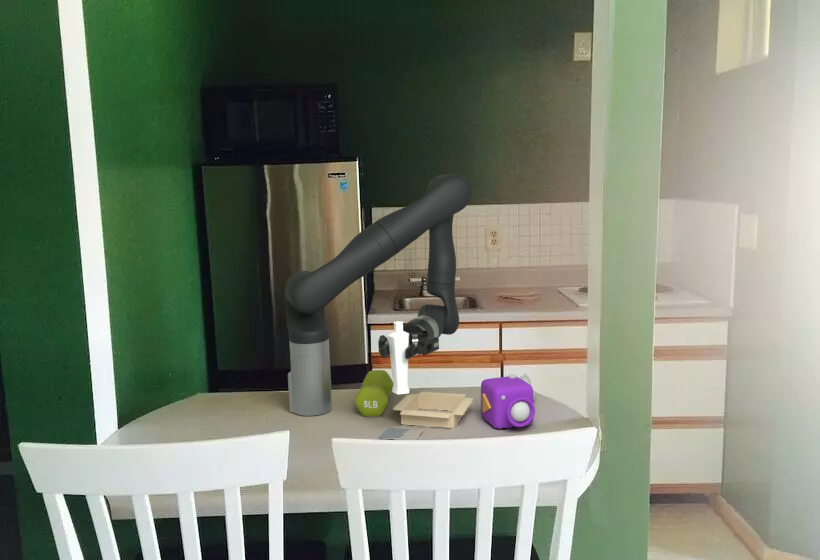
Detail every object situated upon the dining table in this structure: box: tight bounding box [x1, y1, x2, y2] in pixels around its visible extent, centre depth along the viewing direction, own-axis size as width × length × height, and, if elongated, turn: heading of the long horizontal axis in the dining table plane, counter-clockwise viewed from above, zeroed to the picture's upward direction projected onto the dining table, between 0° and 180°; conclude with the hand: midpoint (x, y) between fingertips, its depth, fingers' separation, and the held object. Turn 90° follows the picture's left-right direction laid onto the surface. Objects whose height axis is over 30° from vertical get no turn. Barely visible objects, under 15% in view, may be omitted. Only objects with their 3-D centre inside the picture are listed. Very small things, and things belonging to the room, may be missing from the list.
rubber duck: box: [519, 372, 537, 402], centre depth 169 cm, size 5×7×8 cm
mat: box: [379, 426, 411, 438], centre depth 151 cm, size 8×6×1 cm
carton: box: [392, 391, 475, 428], centre depth 160 cm, size 16×16×4 cm
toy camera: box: [480, 373, 536, 430], centre depth 155 cm, size 11×14×10 cm
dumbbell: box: [354, 369, 393, 418], centre depth 170 cm, size 16×8×7 cm, turn 176°
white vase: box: [387, 320, 411, 395], centre depth 148 cm, size 5×4×15 cm
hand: (395, 353), depth 145 cm, fingers closed on white vase, 4 cm apart
